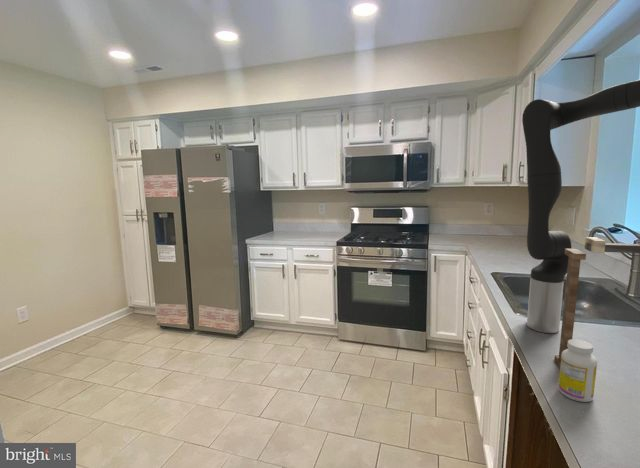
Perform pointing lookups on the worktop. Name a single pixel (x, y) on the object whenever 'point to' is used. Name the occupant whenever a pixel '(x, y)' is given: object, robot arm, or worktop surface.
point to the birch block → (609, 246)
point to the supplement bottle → (578, 371)
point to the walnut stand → (570, 299)
